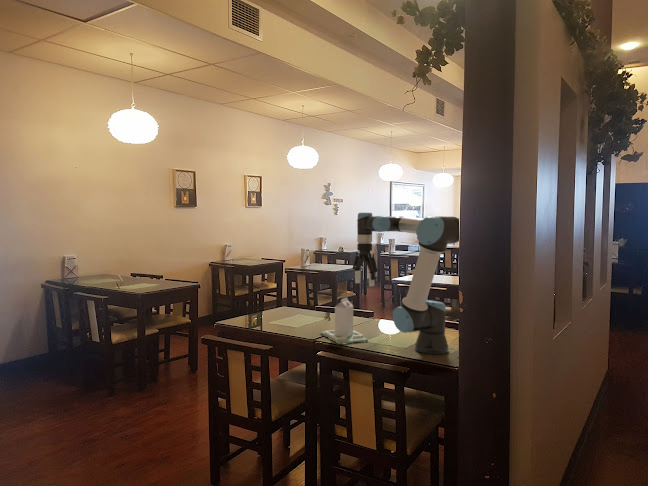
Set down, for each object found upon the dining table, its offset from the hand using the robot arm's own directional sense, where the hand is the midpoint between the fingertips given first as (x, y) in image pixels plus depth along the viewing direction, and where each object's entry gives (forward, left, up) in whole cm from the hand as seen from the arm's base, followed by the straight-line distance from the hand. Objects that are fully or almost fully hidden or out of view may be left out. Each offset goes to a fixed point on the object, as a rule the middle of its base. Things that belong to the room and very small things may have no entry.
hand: (364, 284), depth 237 cm
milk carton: (+2, +10, -26) cm, 28 cm away
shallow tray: (+2, +10, -27) cm, 29 cm away
